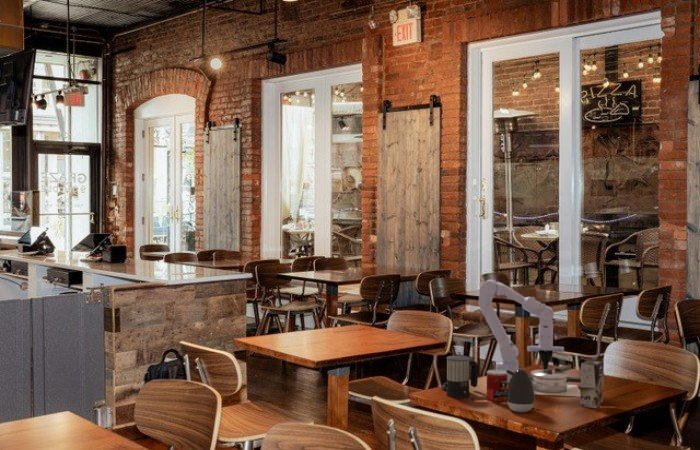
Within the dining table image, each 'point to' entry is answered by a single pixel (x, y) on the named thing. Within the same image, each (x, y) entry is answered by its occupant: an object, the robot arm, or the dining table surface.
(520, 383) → the pump dispenser
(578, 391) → the board
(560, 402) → the dining table surface
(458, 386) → the milk frother
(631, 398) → the dining table surface
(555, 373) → the lid
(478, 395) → the dining table surface
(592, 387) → the coffee box
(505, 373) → the canned food
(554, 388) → the pot
